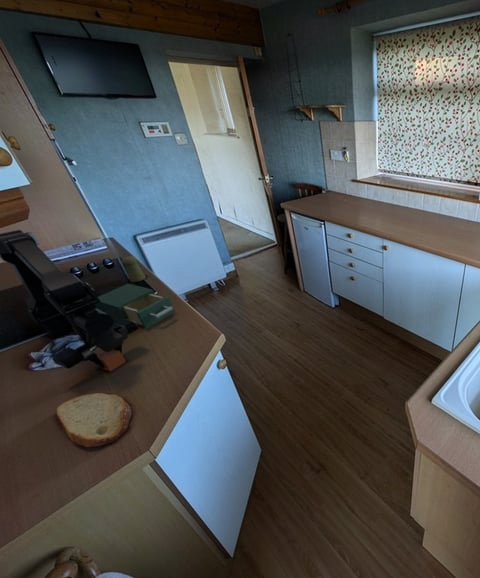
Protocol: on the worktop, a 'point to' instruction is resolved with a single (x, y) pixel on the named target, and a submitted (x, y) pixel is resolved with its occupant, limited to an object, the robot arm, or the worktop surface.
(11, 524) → the worktop surface
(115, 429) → the bread slice
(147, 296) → the drawer
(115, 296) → the cabinet
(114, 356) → the block
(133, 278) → the cork
